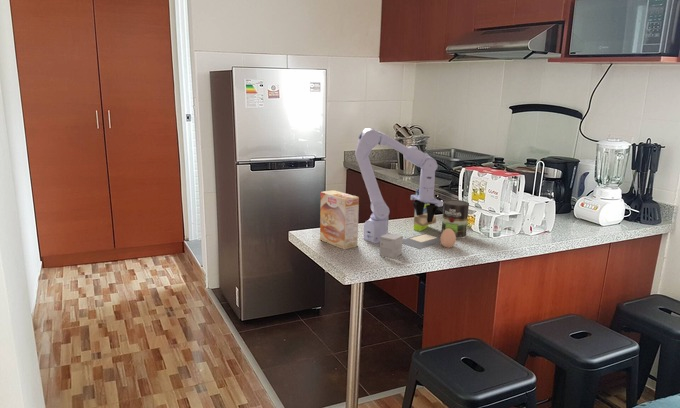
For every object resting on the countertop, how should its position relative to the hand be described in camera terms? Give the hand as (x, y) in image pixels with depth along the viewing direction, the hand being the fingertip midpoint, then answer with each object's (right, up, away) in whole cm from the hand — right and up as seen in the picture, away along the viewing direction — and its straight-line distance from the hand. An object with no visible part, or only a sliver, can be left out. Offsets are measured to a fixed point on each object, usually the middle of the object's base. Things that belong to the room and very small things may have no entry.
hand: (424, 220), depth 206 cm
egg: (+7, -10, -8) cm, 15 cm away
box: (+1, -4, +17) cm, 18 cm away
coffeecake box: (-34, -9, -5) cm, 36 cm away
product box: (-15, -12, -18) cm, 26 cm away
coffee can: (+13, -7, +8) cm, 17 cm away
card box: (0, -1, 0) cm, 1 cm away
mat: (-1, -8, -2) cm, 9 cm away
